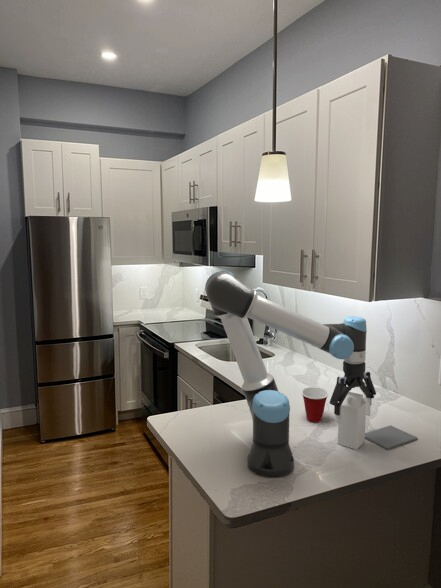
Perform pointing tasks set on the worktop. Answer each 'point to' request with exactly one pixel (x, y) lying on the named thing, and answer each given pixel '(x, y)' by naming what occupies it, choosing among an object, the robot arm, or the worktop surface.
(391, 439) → the gray mat
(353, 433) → the milk carton
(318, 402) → the plastic cup
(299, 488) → the worktop surface
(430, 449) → the worktop surface
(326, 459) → the worktop surface
